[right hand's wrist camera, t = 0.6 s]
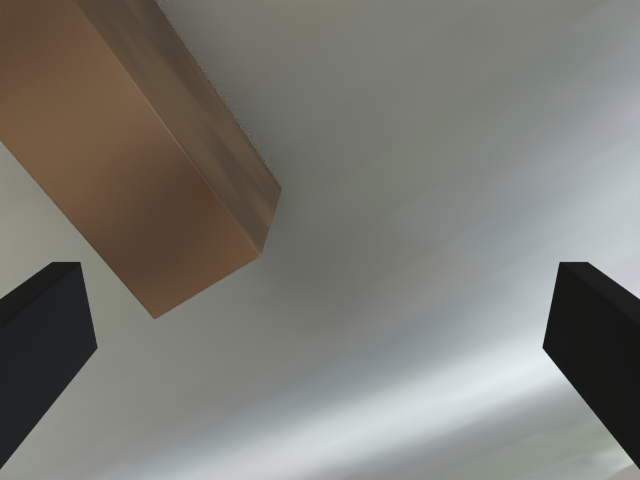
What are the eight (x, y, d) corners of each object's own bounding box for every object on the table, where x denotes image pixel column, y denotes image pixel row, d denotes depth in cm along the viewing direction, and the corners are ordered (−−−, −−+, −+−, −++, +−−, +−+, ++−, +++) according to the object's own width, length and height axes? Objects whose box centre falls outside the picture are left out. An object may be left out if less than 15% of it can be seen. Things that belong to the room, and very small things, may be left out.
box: (282, 189, 33) (261, 255, 21) (211, 233, 34) (154, 320, 22) (34, -179, 26) (-217, -402, 14) (-45, -108, 27) (-341, -254, 15)
